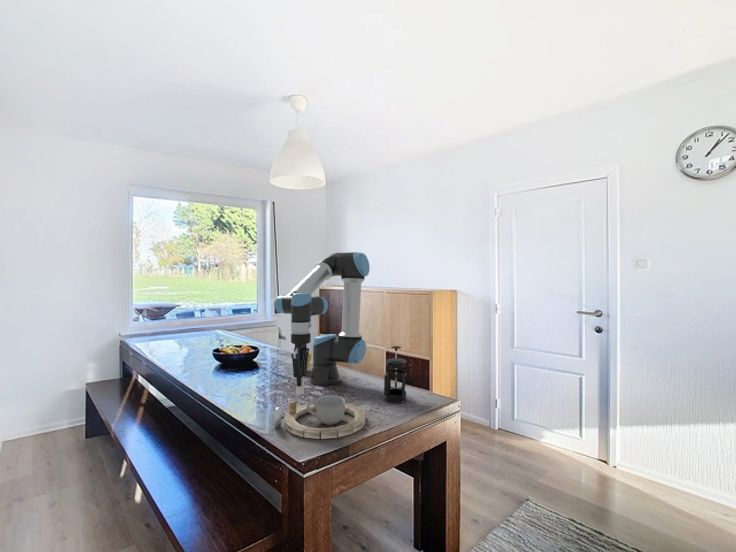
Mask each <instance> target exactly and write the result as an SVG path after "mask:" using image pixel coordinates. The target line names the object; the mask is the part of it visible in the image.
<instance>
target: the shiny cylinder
mask: <svg viewBox="0 0 736 552" xmlns="http://www.w3.org/2000/svg"><path fill="white" fill-rule="evenodd" d="M273 409H274V420H273V422H274V427H273V428H274V430H280V428H281V429H282V420H285V415H282V410H283V409H282V407H281V406H275V407H274V408H273Z"/></svg>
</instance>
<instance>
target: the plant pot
mask: <svg viewBox="0 0 736 552" xmlns="http://www.w3.org/2000/svg"><path fill="white" fill-rule="evenodd" d="M311 360H312V353H311V352H309V353H308V362H307V372H309V366H310V362H311Z"/></svg>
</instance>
